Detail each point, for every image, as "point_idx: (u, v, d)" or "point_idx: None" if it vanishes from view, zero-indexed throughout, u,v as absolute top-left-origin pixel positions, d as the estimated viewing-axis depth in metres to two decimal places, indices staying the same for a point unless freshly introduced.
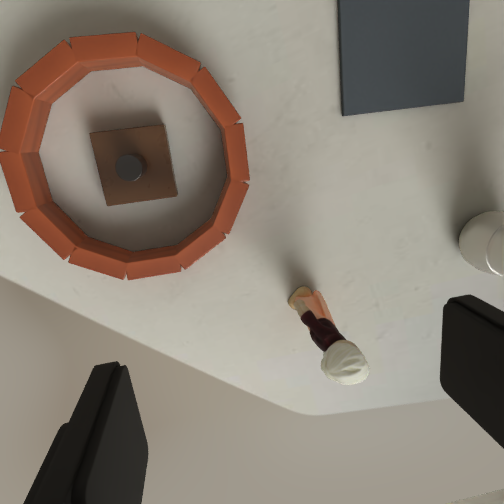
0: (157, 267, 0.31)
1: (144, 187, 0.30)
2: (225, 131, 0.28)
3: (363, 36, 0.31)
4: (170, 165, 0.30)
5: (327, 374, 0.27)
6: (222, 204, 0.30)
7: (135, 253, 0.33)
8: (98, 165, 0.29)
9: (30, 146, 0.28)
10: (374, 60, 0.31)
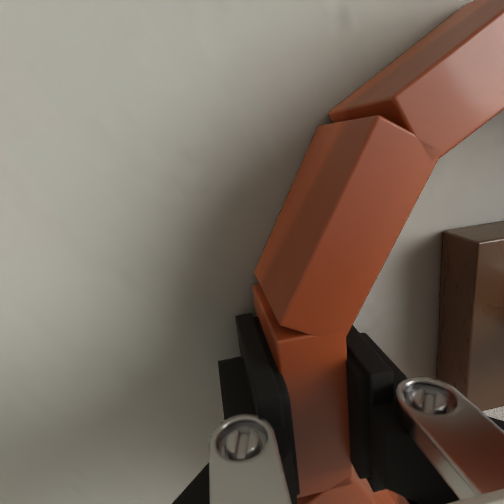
0: None
1: None
2: None
3: None
4: None
5: None
6: None
7: None
8: None
9: None
10: None
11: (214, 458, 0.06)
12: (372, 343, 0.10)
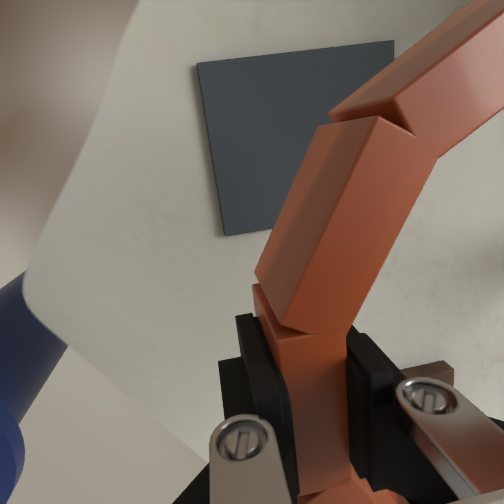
0: None
1: None
2: None
3: None
4: (427, 376, 0.33)
5: None
6: None
7: None
8: None
9: None
10: None
11: (214, 458, 0.06)
12: (372, 343, 0.10)
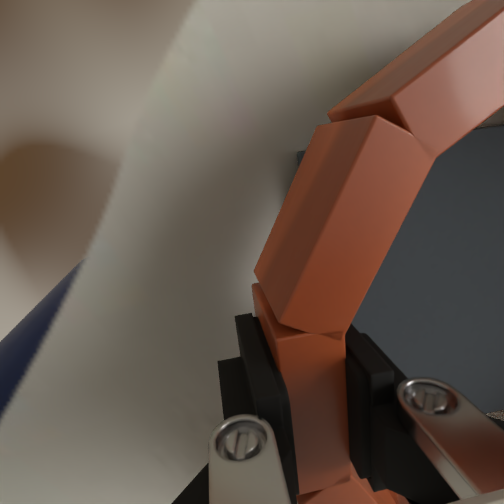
0: None
1: None
2: None
3: (497, 373, 0.15)
4: None
5: None
6: None
7: None
8: None
9: None
10: None
11: (213, 458, 0.06)
12: (373, 342, 0.10)
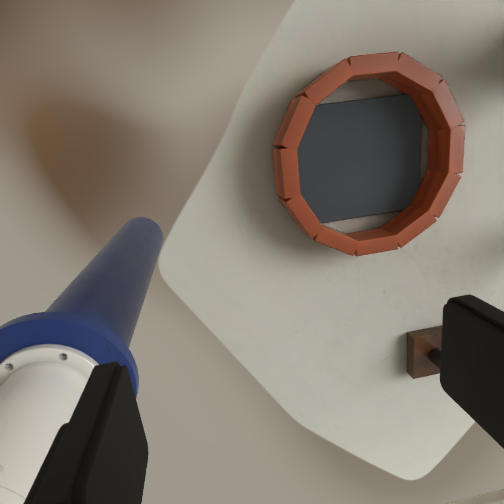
0: (457, 145, 0.35)
1: None
2: (355, 74, 0.32)
3: (366, 197, 0.39)
4: (438, 333, 0.44)
5: None
6: (415, 81, 0.33)
7: (432, 167, 0.38)
8: (431, 374, 0.46)
9: (347, 236, 0.38)
10: (383, 186, 0.39)
11: None
12: None
